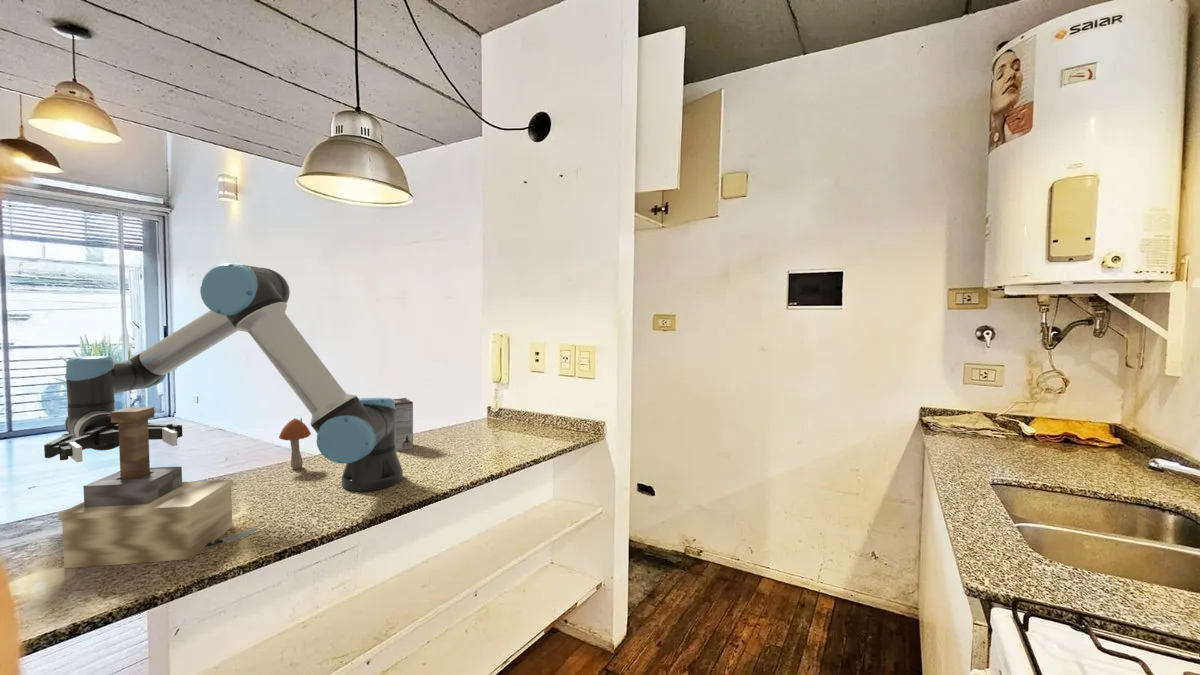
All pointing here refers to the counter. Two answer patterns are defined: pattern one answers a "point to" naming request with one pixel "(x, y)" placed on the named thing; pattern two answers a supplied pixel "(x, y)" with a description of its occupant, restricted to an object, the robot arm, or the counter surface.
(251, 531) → the chef's knife
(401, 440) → the coffee box
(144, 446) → the brown t-shaped block
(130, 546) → the tan two-tone block
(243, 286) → the robot arm
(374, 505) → the counter surface
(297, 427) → the mushroom
